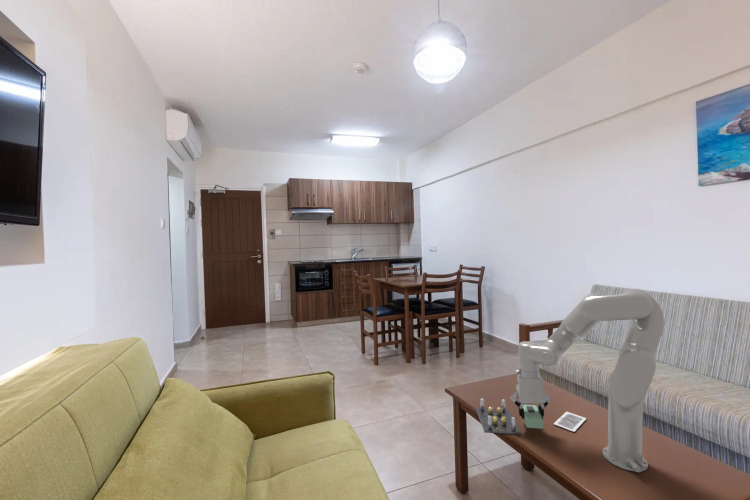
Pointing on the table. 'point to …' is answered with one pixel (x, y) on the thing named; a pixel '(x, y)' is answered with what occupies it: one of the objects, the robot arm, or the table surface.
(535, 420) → the green block
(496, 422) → the chassis
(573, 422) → the touchpad
